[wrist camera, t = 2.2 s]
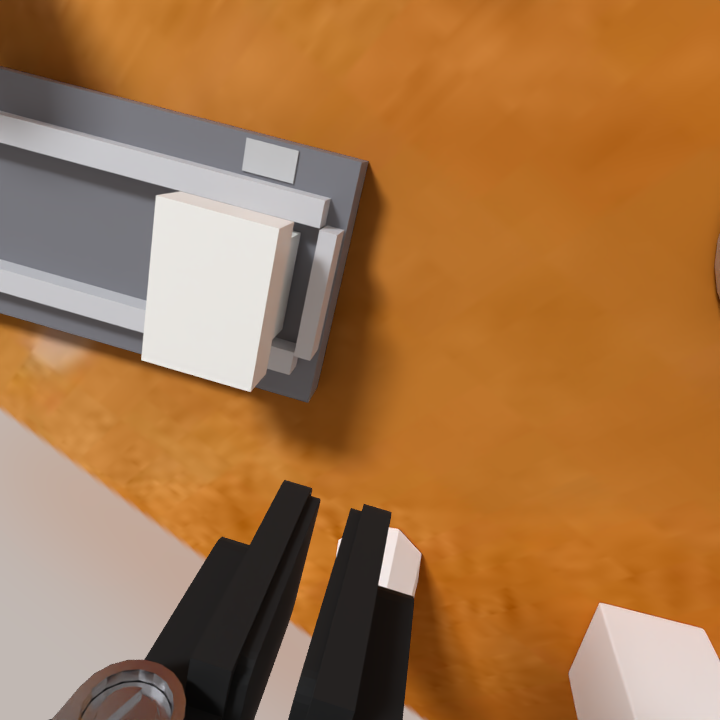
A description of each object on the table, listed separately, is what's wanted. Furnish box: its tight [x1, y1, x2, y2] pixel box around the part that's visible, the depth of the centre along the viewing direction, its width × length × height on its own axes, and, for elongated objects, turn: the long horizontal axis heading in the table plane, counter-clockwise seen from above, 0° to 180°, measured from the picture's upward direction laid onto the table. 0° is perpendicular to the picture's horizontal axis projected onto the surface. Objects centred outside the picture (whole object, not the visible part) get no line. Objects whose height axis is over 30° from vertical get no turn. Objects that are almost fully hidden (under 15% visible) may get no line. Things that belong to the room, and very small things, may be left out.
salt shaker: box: [336, 528, 421, 597], centre depth 29 cm, size 5×5×11 cm
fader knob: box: [141, 191, 301, 392], centre depth 24 cm, size 5×7×5 cm
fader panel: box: [0, 66, 369, 403], centre depth 28 cm, size 26×12×4 cm, turn 77°
